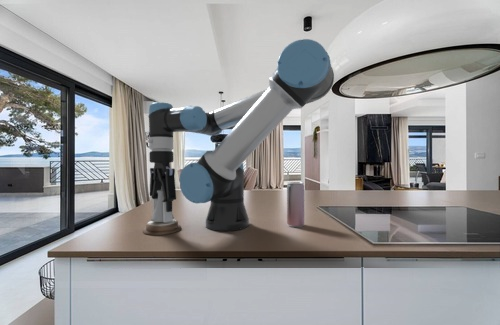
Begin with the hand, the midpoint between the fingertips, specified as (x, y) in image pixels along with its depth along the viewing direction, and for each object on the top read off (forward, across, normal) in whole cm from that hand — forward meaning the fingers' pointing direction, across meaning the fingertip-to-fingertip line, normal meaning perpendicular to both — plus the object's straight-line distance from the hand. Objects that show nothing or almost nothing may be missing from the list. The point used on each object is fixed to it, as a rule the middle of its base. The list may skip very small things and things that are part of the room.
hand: (162, 219), depth 84 cm
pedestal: (+4, 0, 0) cm, 4 cm away
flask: (+1, 0, 0) cm, 1 cm away
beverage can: (+4, +28, +36) cm, 45 cm away
